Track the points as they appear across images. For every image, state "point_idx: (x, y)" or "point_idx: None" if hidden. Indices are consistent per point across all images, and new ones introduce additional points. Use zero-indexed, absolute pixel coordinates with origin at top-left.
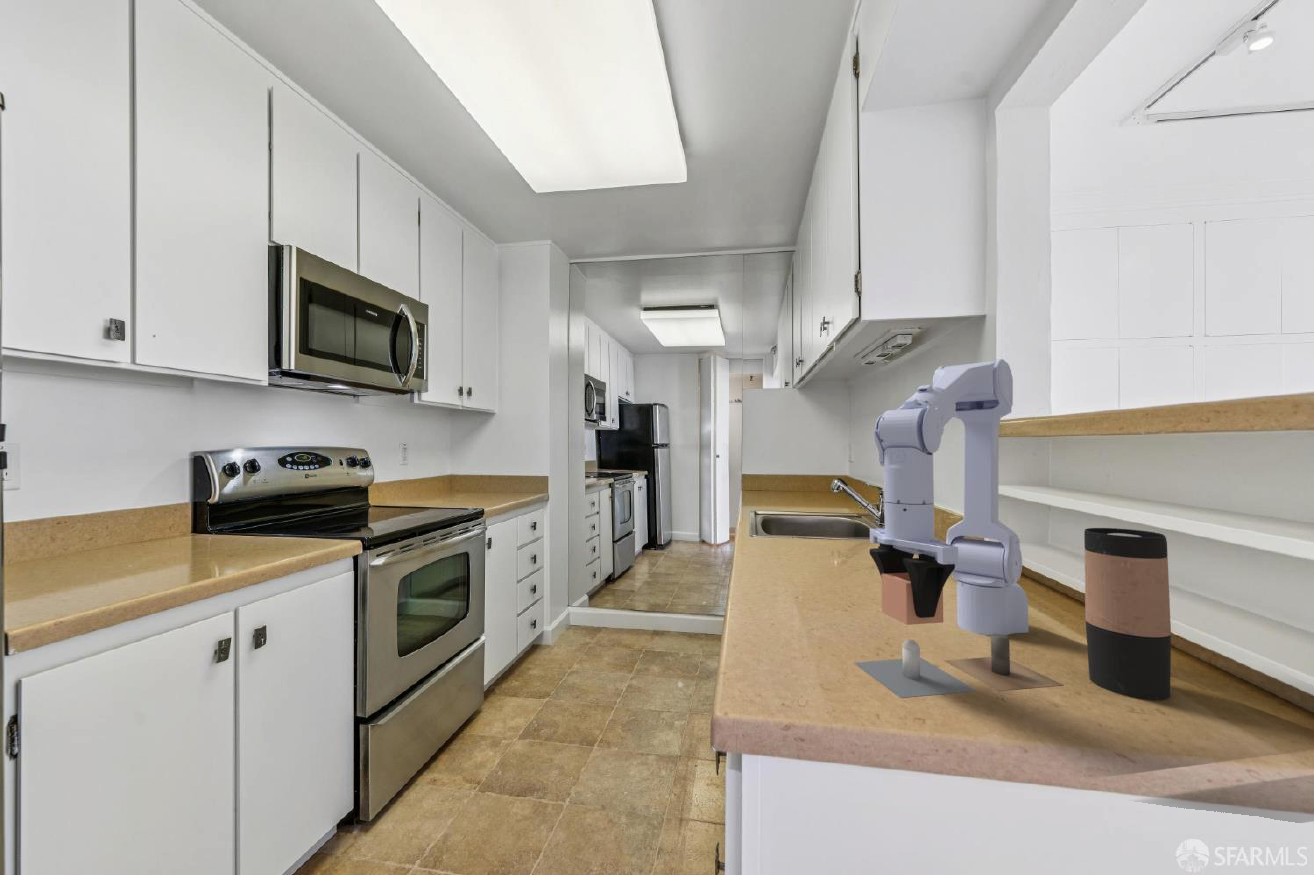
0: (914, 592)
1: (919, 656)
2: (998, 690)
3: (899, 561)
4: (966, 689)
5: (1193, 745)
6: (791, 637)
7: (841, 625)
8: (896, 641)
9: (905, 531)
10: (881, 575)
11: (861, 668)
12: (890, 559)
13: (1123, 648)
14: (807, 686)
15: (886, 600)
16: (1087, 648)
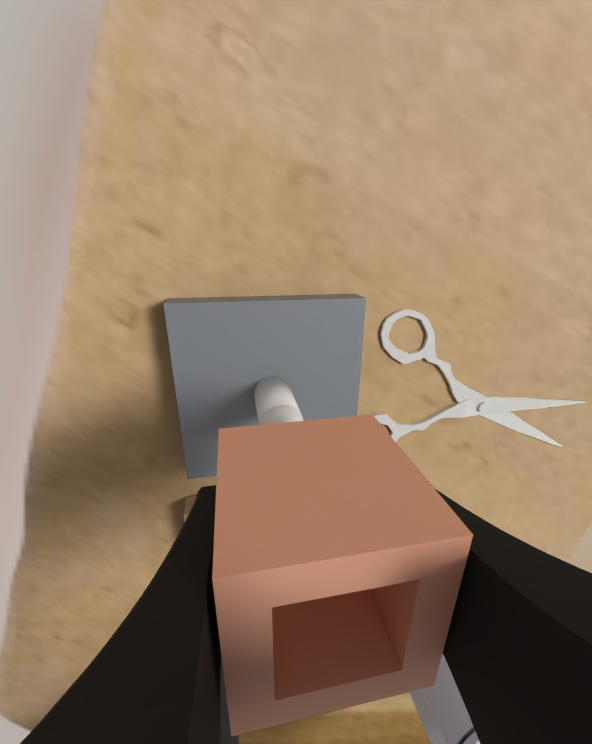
0: (189, 563)
1: None
2: (185, 514)
3: (504, 707)
4: (194, 463)
5: (47, 654)
6: (580, 248)
7: (577, 402)
8: (467, 467)
9: None
10: (493, 532)
11: (330, 299)
12: (537, 685)
13: None
14: (320, 125)
15: (364, 447)
16: (220, 718)
